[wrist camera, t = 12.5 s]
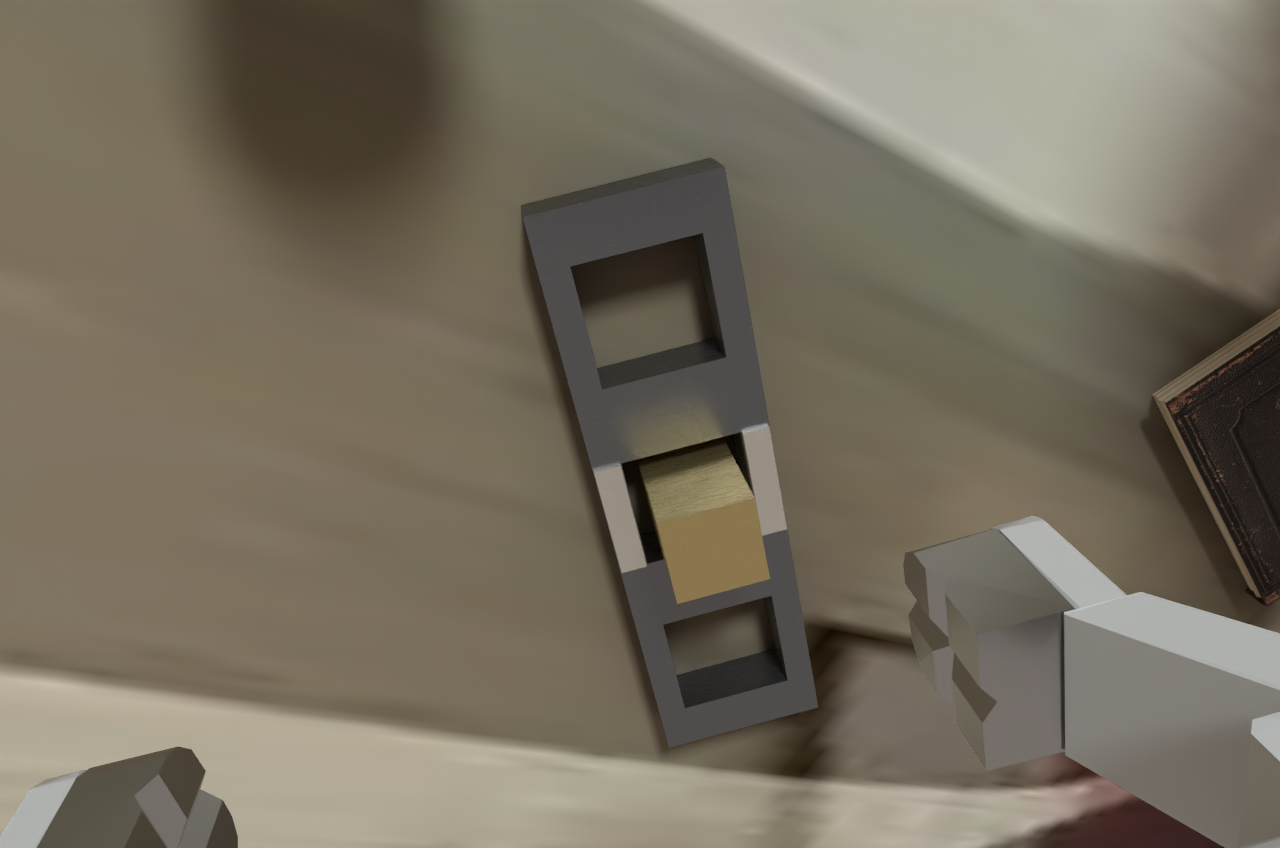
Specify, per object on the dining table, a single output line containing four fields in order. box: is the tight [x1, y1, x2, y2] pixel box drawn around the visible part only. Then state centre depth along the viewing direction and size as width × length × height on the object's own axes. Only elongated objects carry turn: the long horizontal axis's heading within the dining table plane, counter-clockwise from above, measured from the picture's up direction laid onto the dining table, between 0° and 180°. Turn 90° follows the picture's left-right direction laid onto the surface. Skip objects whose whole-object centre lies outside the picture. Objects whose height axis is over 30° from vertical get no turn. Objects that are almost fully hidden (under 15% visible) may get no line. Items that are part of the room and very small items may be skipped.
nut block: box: [637, 437, 770, 604], centre depth 39 cm, size 4×4×7 cm
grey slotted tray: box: [521, 158, 818, 748], centre depth 41 cm, size 8×28×3 cm, turn 13°
